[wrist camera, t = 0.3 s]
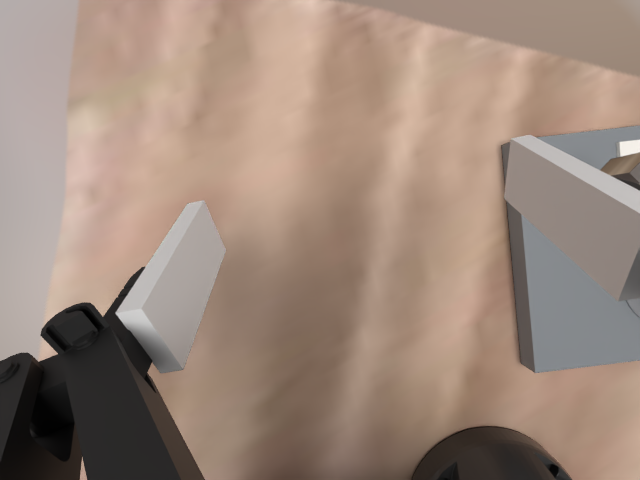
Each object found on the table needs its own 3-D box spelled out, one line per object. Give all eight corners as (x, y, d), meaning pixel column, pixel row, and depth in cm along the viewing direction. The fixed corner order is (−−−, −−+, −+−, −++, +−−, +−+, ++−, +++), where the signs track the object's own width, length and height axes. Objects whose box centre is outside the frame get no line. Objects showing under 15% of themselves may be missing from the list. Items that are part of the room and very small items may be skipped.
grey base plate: (702, 341, 31) (735, 351, 29) (521, 363, 31) (539, 375, 28) (688, 124, 30) (722, 115, 28) (501, 145, 30) (518, 138, 27)
